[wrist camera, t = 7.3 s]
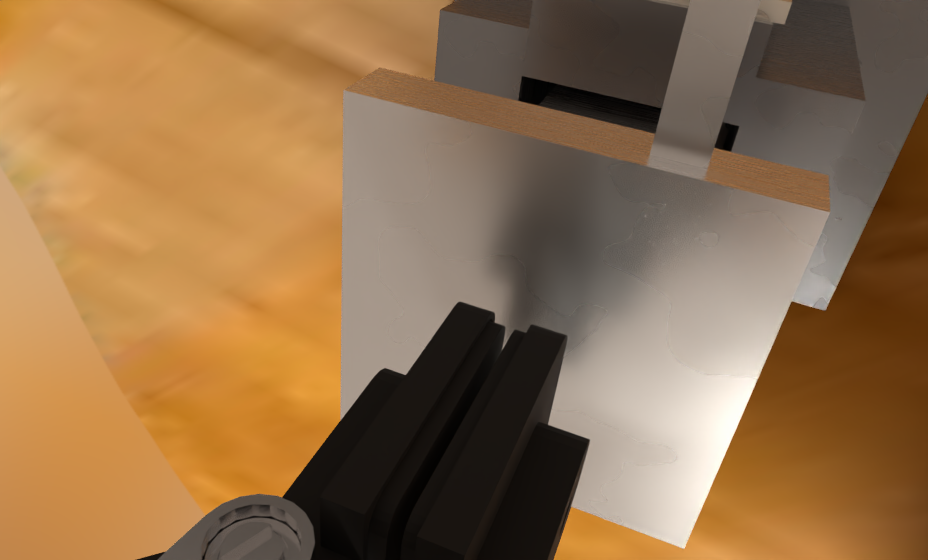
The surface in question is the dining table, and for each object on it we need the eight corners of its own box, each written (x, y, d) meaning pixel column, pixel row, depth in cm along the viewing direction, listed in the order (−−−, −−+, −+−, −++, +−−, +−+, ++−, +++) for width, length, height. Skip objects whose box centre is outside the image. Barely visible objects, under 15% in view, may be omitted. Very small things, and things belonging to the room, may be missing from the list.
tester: (1003, -92, 19) (1118, -25, 12) (824, 295, 26) (829, 483, 19) (482, -169, 22) (328, -153, 15) (446, 190, 29) (329, 315, 22)
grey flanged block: (866, -83, 15) (913, 22, 8) (728, 287, 21) (683, 548, 14) (541, -134, 17) (344, -85, 10) (491, 220, 23) (340, 420, 15)
